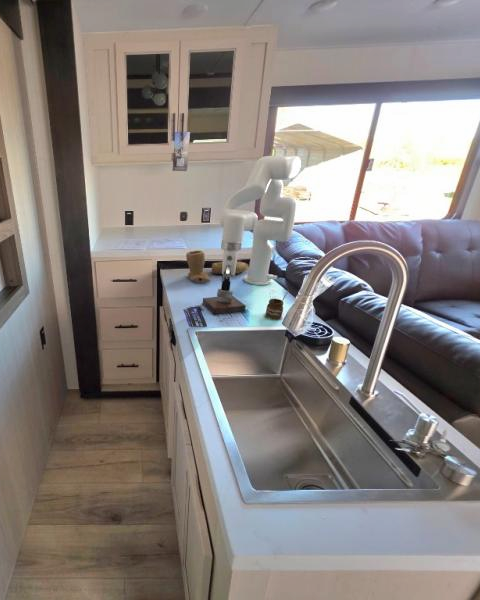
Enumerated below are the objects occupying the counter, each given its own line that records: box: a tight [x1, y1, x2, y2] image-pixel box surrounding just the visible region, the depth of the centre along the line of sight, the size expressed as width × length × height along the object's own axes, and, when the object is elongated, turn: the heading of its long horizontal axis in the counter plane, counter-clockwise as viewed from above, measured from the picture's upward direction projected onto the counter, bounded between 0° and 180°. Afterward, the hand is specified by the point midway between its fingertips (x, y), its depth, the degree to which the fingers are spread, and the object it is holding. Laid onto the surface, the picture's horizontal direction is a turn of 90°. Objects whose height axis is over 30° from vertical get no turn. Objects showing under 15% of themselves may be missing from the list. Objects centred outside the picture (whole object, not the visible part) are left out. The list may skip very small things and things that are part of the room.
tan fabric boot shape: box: [185, 250, 211, 284], centre depth 164 cm, size 15×12×15 cm
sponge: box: [211, 260, 249, 275], centre depth 175 cm, size 13×8×20 cm
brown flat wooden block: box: [202, 295, 246, 316], centre depth 133 cm, size 14×11×3 cm
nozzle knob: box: [216, 288, 234, 303], centre depth 132 cm, size 6×2×5 cm, turn 72°
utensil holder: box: [265, 289, 289, 321], centre depth 124 cm, size 6×6×12 cm
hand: (225, 286), depth 130 cm, fingers open, 9 cm apart
